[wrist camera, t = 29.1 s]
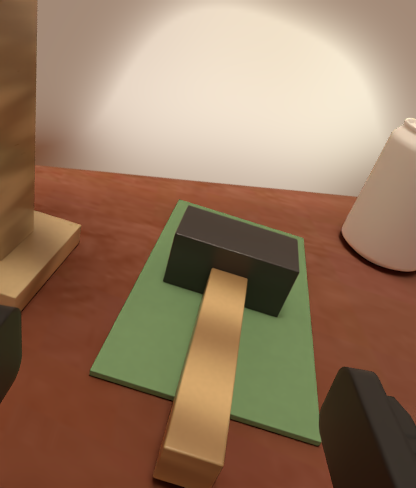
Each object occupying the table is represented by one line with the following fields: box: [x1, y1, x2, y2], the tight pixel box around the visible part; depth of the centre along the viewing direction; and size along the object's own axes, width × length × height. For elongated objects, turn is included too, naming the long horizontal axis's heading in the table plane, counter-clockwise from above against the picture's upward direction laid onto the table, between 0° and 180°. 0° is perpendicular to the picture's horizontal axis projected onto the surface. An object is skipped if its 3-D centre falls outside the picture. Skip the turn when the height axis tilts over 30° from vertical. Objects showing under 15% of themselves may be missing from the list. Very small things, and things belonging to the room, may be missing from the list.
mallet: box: [153, 205, 300, 488], centre depth 22 cm, size 16×8×4 cm, turn 170°
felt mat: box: [90, 199, 321, 446], centre depth 28 cm, size 20×12×1 cm, turn 170°
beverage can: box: [342, 118, 416, 272], centre depth 36 cm, size 8×8×12 cm
